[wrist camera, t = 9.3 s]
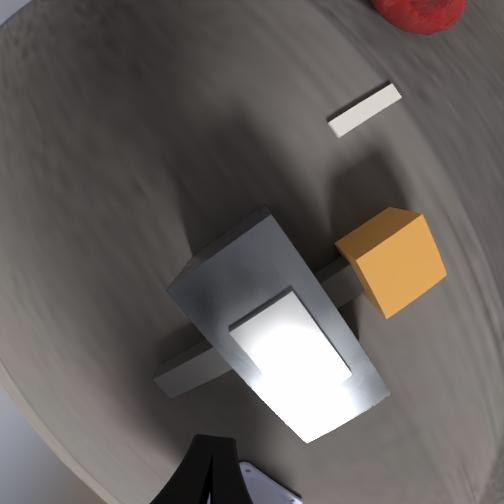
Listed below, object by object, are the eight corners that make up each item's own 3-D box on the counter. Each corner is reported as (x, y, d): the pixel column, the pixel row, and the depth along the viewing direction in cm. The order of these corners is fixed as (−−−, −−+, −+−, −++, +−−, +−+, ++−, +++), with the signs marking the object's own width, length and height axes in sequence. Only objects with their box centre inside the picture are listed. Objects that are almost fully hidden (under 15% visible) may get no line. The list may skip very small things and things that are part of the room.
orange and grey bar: (184, 392, 20) (172, 431, 16) (150, 354, 19) (131, 389, 15) (412, 256, 18) (447, 274, 14) (388, 206, 17) (422, 213, 13)
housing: (359, 342, 19) (392, 396, 13) (295, 382, 19) (307, 445, 14) (264, 204, 17) (271, 215, 11) (192, 256, 17) (164, 291, 12)
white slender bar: (399, 98, 15) (401, 97, 15) (338, 138, 16) (339, 137, 16) (390, 84, 15) (392, 83, 15) (327, 123, 16) (328, 122, 16)
